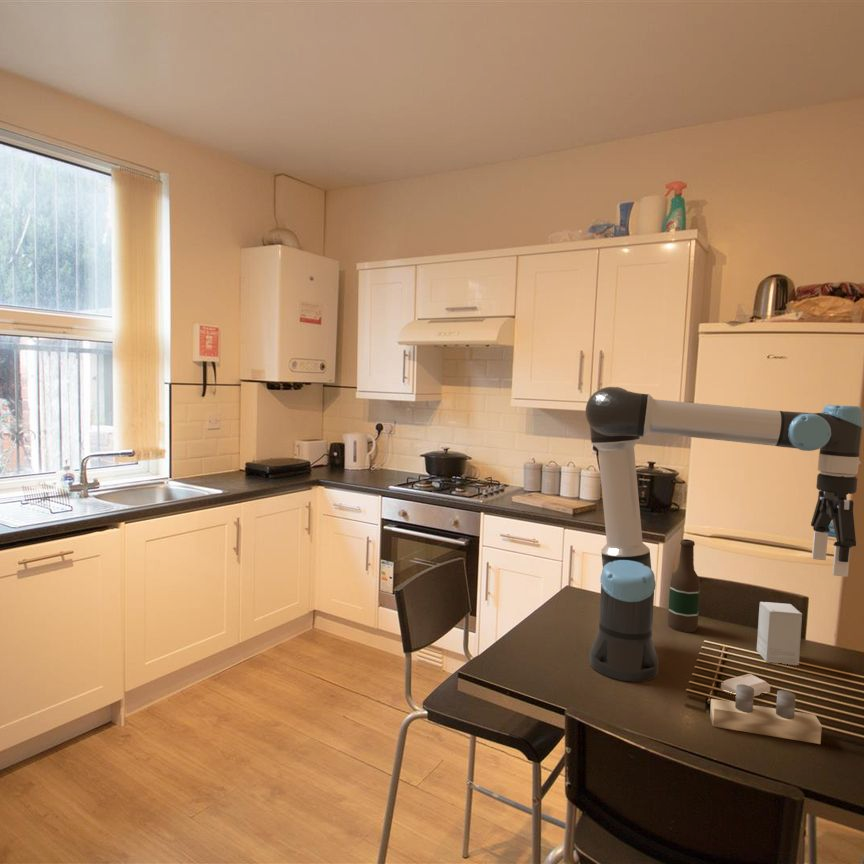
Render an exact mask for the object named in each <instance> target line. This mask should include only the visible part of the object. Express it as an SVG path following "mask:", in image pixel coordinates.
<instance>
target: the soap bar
mask: <svg viewBox="0 0 864 864" xmlns="http://www.w3.org/2000/svg"><path fill="white" fill-rule="evenodd" d="M722 682H724V683H722ZM722 682H720V683H721V684H720V690H721V689H725V690H727V691H729V692H732V693H736V686H737V685H739V684H743V685H748V686H750V687H752V688H753V689H754V697H757V696H760V694H761V693H762V692H768V693H771V685H770V684H769V683H768V682H767V681H765V680H764V679H761V677H760V678H759V677H758V676H756V675H753V674H751V673H747V674H743V675H738V676H736V677H731V678H728V679H725V680H724V681H722ZM761 695H762V694H761ZM734 698H736V696H735V697H734Z"/></svg>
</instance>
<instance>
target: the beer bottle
mask: <svg viewBox="0 0 864 864" xmlns="http://www.w3.org/2000/svg"><path fill="white" fill-rule="evenodd" d="M679 544H680V545H681V546H680V551H679V562H678V567H677V569H676V570H675V572H673V575H672V577H671V579H670V583H669V594H668V595H669V597H668V615H667V617H668V618H667V621H668V622H667V626H668V627H669V628H671V629H673V630H674V629H675V631H677V630H678V632H682V631H683V633H694V632H696V631H697V628H698V625H699V609H700V591H701V582H700V578H699V576H698V574H697V572H696V571H695V565H694V562H695V561H694V560H695V559H694V558H695V557H694V556H695V554H694V549H695V548H694V546H695V545H696V544H695V541H694V540H691V539H687V538H686V539H685V538H684V539H681V541H680V543H679Z"/></svg>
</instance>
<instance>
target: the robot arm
mask: <svg viewBox="0 0 864 864" xmlns="http://www.w3.org/2000/svg"><path fill="white" fill-rule="evenodd" d="M585 418H586V421H587V423H588V425H589V431H590V442H591V445H592V446H593V447H595V448H596V449H597V450H598V458H599V459H598V460H599V461H598V462H599V472H600V482H601V484H600V485H601V494H602V495H601V497H602V505H603V516H604V527H605V537H606V538H605V539H606V544H605V545H604V546H603V548H601V564H602V565H601V566H602V568H601V569H602V570H601V574H600V579H599V581H600V597H599V598H600V601H599V618H598V620H599V621H598V623H599V624H598V632H597V633H596V636H595V639H594V641H593V644H592V646H591V649H590V651H589V664H590V667H592V668H593V670H595V671H596V672H598V673H599V674H601V675H603V676H606V677H609V678H612V679H615V680H619V681H624V682H625V681H626V682H646V681H651V680H652V679H654V678H656V677H657V676H658V674H659V660H658V655H657V652H656V648H655V646H654V641H653V623H654V622H653V621H654V619H653V617H654V603H655V601H654V600H655V590H656V579H655V578H656V577H655V573H654V571H653V570H652V563H651V561H652V559H651V552H650V548H649V547H648V546H647V545H646V544H645V543H644V542H643V532H642V522H641V510H640V500H639V499H640V497H639V487H638V477H637V466H636V455H635V447H636V445H637V443H639V441H640V440H641V438H640V437H646V436H648V435H649V434H657V435H667V436H678V437H687V438H695V439H706V440H714V441H724V442H733V443H743V444H753V445H762V446H771V447H778V448H779V447H780V448H788V449H798V450H800V451H802V452H803V451H805V452H807V451H809V452H810V451H811V452H813V451H816V450H819V454H818V464H817V471H819V472H820V473H818V474H817V476H816V489H817V490H818V496H817V501H816V505H815V508H814V512H813V515H812V519H811V521H810V522H811V523H810V525H811V527H812V529H813V531H814V532H813V541H812V549H811V550H812V552H811V559H812V560H817V561H818V560H819V561H827V552H828V551H827V549H828V540H829V539H828V537H829V533H830V531H831V530H830V528H829V527H830V525H831V523H833V528H834V534H835V538H836V539H835V540H836V541H834V543H833V544H832V545H833V546H834V551H833V553H834V554H833V563H832V571H831V572H832V576H836V577H844V578H848V577H849V570H850V569H849V568H850V560H851V559H850V557H851V548H852V547H856V546H857V539H856V530H855V529H856V528H855V527H856V526H855V518H854V500H851V499H847V498H848V496H847V495H854V494H856V493H857V490H858V489H857V488H858V478H857V476H856V475H857V474H858V473H859V465H860V466H861V464H862V461H861V460H860V456H861V455H860V453H861V444H862V438H863V437H862V435H863V429H864V410H863V409H862V408H861V407H860V406H858V405H857V406H856V405H839V404H835V405H834V404H826V405H824V406H823V409H822V411H821V412H801V411H787V410H786V411H785V410H775V409H762V408H753V407H752V408H751V407H742V406H732V405H731V406H729V405H720V404H708V403H698V402H697V403H696V402H688V401H686V402H685V401H677V400H667V399H666V400H664V399H655V398H653V397H652V395H651V394H647V393H639V392H633V391H629V390H626V389H624V388H622V387H619V386H607V387H604V388H603V387H602V388H601V389H598V390H596V391H595V392H594V393H593V394H592V395H591V396H590V397H589V399H588V401H587V403H586V405H585Z"/></svg>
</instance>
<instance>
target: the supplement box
mask: <svg viewBox="0 0 864 864" xmlns="http://www.w3.org/2000/svg"><path fill="white" fill-rule="evenodd" d="M758 610H759V611H758V623H757V624H758V625H757V639H756V640H757V641H756V652H758V654H759V655H760V657H761V658H763V660H764V661H765V662H766V663H769V662H773V663H772V664H778V663H782V664H781V665H787V664H788V666H790V665H791V666H797V665H798V666H799V665H800V652H801V651H800V650H801V639H802V637H801V635H802V623H803V622H802V621H803V613H802V612H801V611H800V610H798V609H797V608H796V607H795V606H793V604H791V603H781V602H771V601H770V602H769V601H759V608H758Z"/></svg>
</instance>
